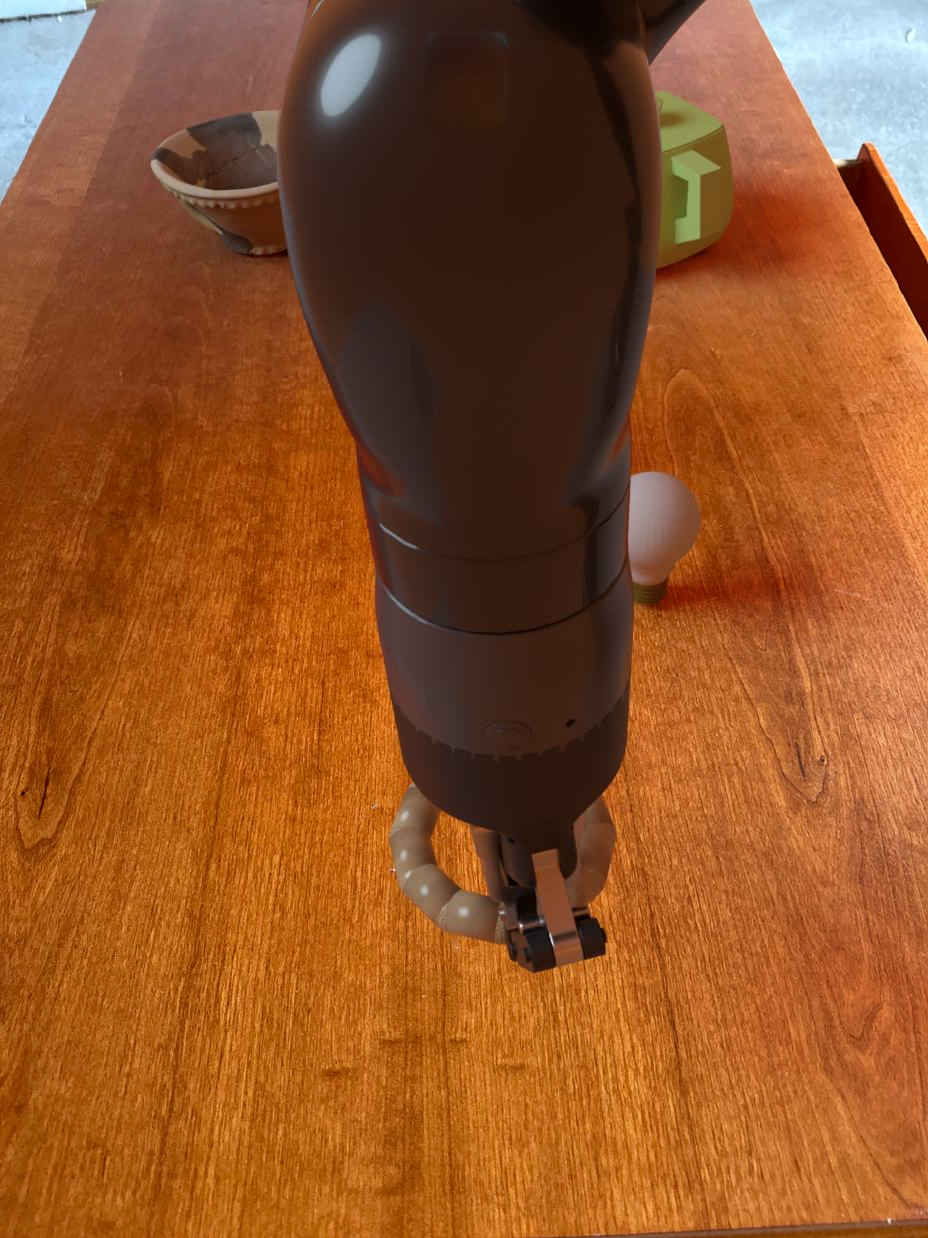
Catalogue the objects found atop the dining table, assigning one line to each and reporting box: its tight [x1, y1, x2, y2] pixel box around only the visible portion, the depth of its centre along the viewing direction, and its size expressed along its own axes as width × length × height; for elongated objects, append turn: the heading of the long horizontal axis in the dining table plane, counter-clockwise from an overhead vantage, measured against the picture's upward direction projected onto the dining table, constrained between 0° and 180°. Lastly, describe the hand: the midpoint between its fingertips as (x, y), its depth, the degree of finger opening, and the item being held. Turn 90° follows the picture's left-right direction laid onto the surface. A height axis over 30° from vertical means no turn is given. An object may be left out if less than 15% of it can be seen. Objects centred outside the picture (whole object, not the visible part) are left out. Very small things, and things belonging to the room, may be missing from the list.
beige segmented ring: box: [388, 781, 618, 946], centre depth 49 cm, size 10×10×2 cm
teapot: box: [655, 90, 734, 270], centre depth 99 cm, size 18×20×13 cm
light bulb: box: [628, 471, 702, 606], centre depth 71 cm, size 6×6×10 cm
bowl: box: [150, 109, 287, 256], centre depth 106 cm, size 18×18×10 cm
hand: (525, 921), depth 47 cm, fingers closed on beige segmented ring, 2 cm apart
